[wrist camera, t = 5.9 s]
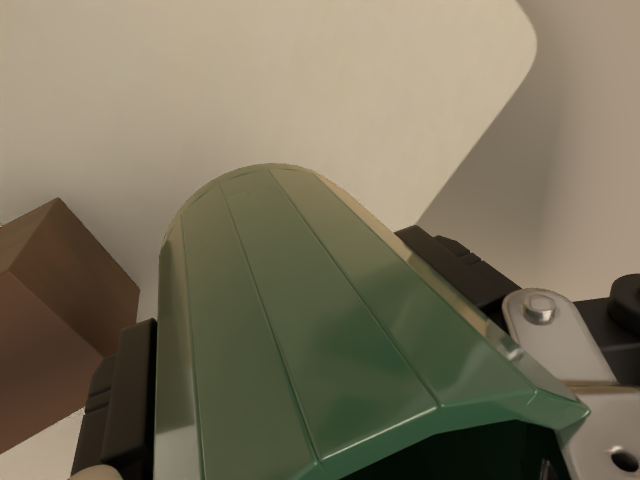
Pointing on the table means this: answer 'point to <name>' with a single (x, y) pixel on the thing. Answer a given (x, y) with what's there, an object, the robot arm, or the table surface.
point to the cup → (328, 348)
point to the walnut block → (54, 318)
